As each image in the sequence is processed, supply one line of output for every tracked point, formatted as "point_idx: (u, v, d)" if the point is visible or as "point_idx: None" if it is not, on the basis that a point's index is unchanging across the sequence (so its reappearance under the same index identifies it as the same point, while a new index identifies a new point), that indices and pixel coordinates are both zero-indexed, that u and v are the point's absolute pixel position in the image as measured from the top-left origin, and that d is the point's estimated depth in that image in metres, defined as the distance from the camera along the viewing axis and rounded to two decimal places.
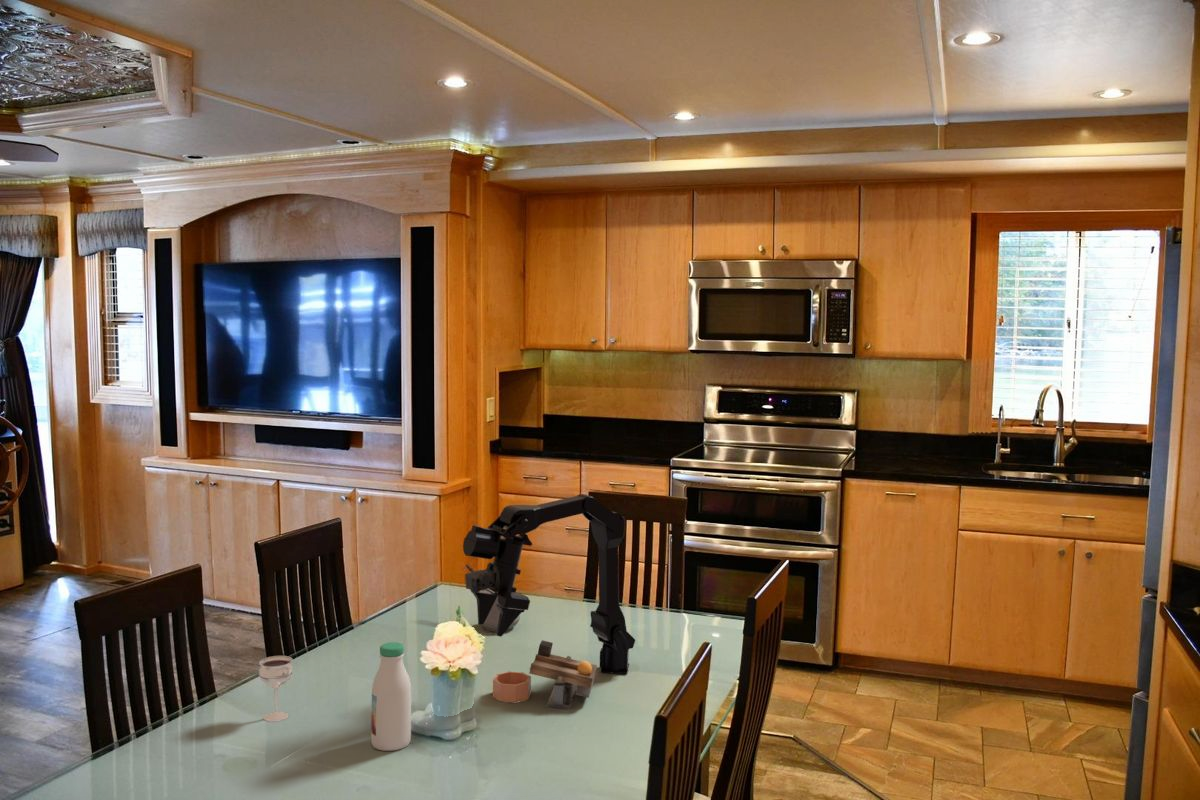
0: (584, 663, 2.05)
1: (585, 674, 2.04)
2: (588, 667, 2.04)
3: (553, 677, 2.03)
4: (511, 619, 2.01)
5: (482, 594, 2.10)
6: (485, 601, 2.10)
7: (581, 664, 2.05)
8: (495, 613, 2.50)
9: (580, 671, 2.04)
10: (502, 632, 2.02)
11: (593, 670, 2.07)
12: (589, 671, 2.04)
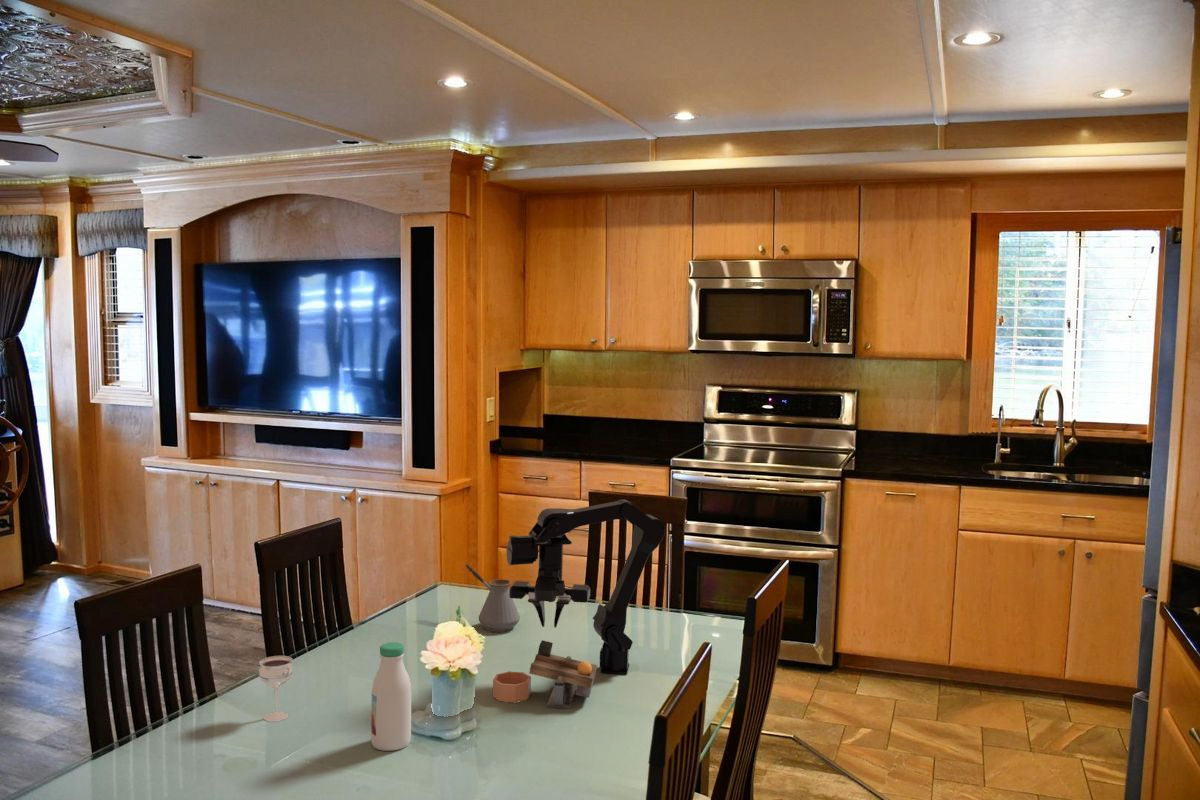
0: (584, 663, 2.05)
1: (585, 674, 2.04)
2: (588, 667, 2.04)
3: (553, 677, 2.03)
4: None
5: None
6: (542, 604, 2.19)
7: (581, 664, 2.05)
8: (495, 613, 2.50)
9: (580, 671, 2.04)
10: (557, 622, 2.19)
11: (593, 670, 2.07)
12: (589, 671, 2.04)
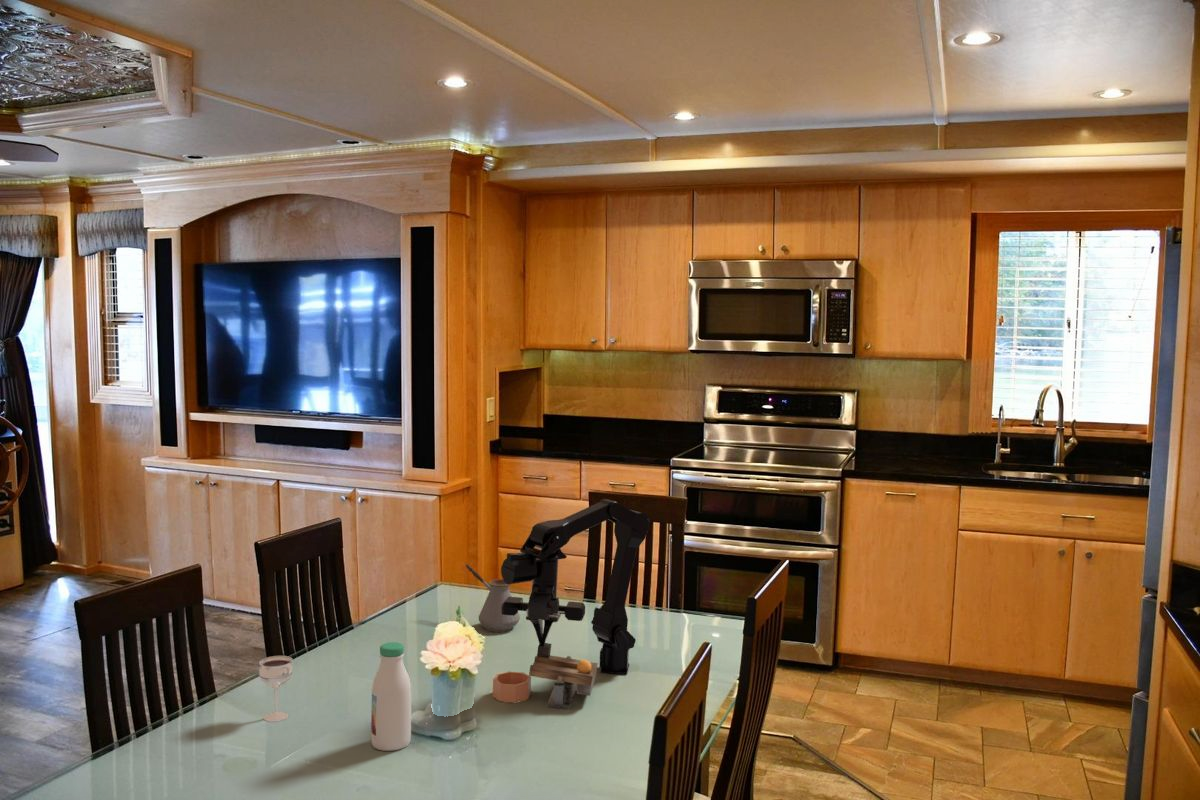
0: (583, 661, 2.05)
1: (585, 672, 2.04)
2: (587, 665, 2.04)
3: (553, 677, 2.03)
4: (550, 626, 2.13)
5: None
6: (540, 622, 2.12)
7: (580, 663, 2.05)
8: (495, 613, 2.50)
9: (580, 670, 2.04)
10: (545, 640, 2.12)
11: (593, 668, 2.07)
12: (589, 669, 2.04)
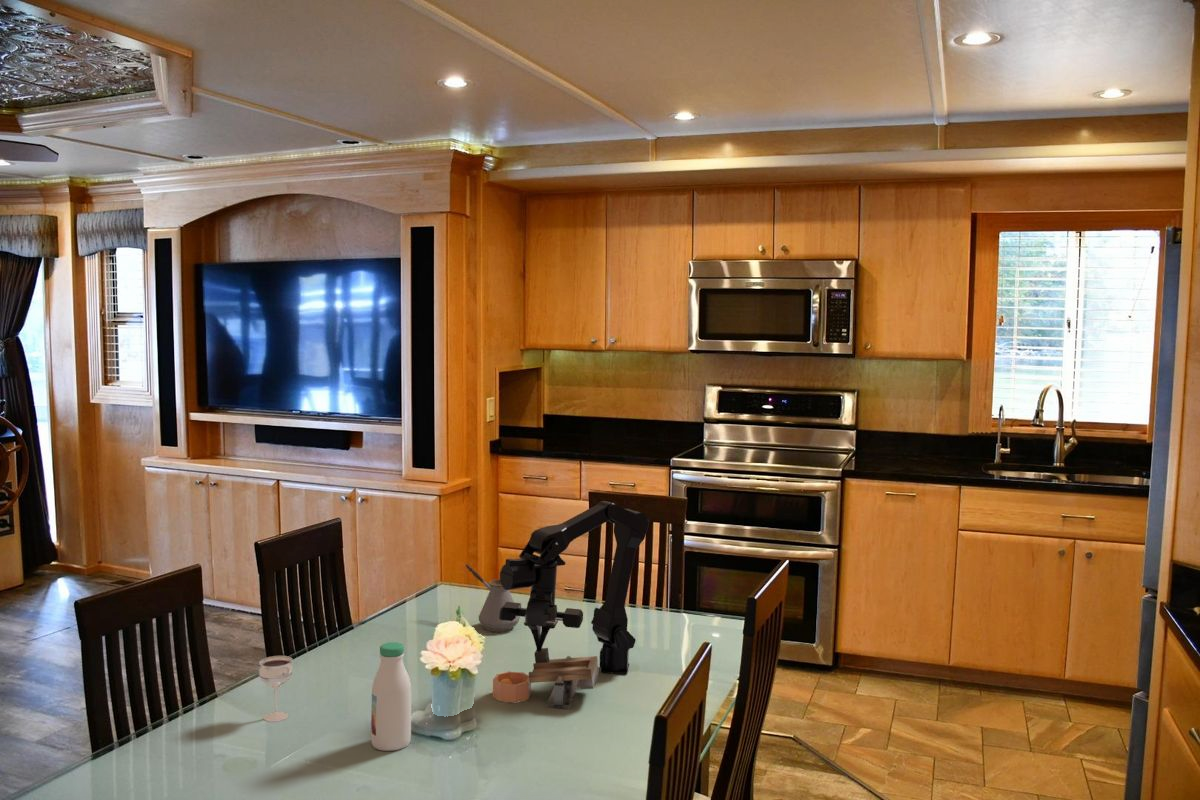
0: (508, 682, 2.07)
1: None
2: None
3: (553, 679, 2.03)
4: (547, 632, 2.13)
5: None
6: (538, 628, 2.12)
7: (505, 681, 2.07)
8: (495, 613, 2.50)
9: None
10: None
11: (591, 661, 2.07)
12: None
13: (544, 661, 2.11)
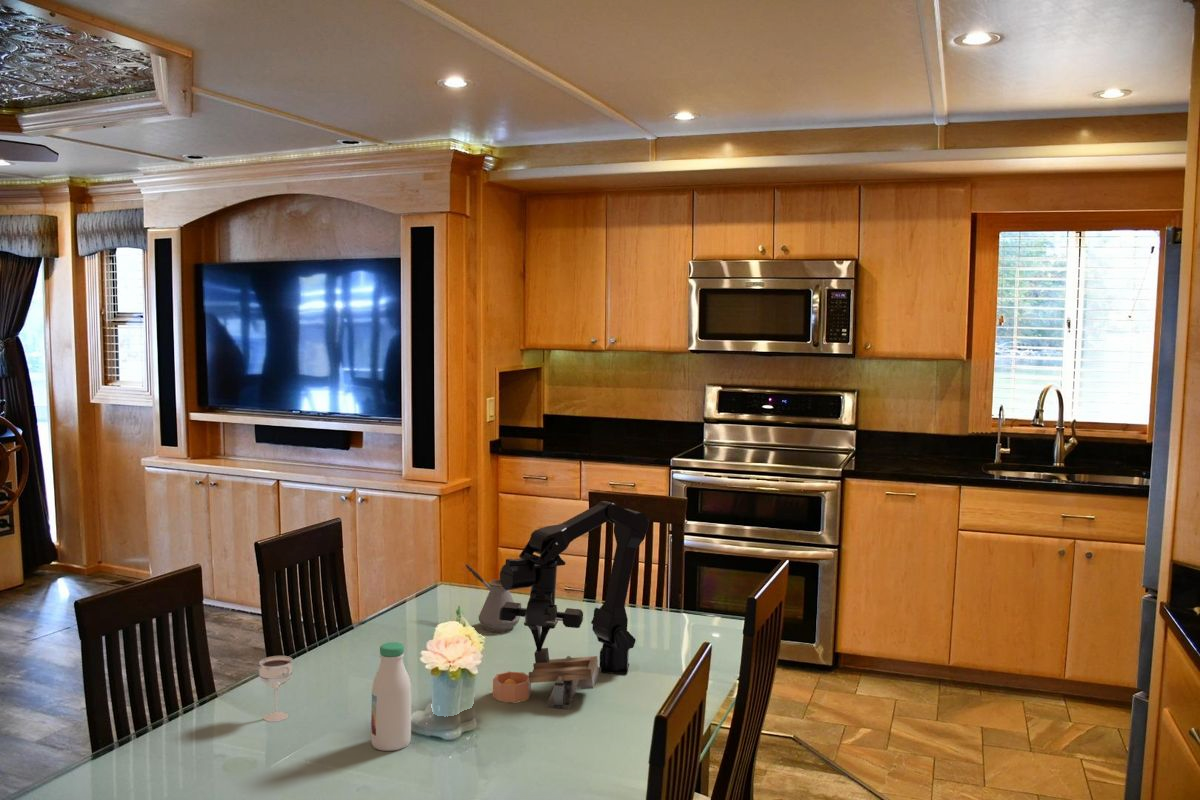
0: None
1: None
2: None
3: (553, 679, 2.03)
4: (547, 632, 2.13)
5: None
6: (538, 628, 2.12)
7: (513, 683, 2.07)
8: (495, 613, 2.50)
9: None
10: None
11: (591, 661, 2.07)
12: None
13: (544, 661, 2.11)
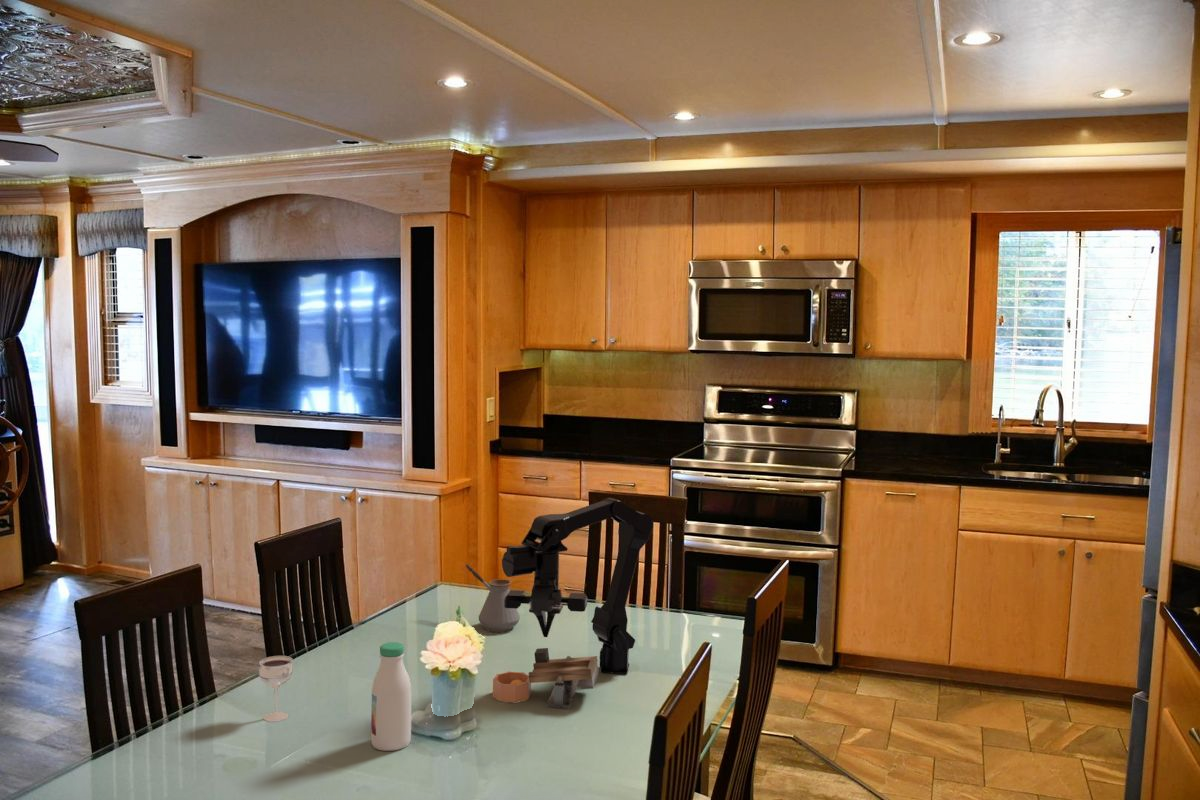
0: None
1: None
2: None
3: (553, 679, 2.03)
4: (553, 617, 2.15)
5: None
6: (543, 614, 2.14)
7: None
8: (495, 613, 2.50)
9: None
10: (548, 632, 2.14)
11: (591, 661, 2.07)
12: None
13: (544, 661, 2.11)
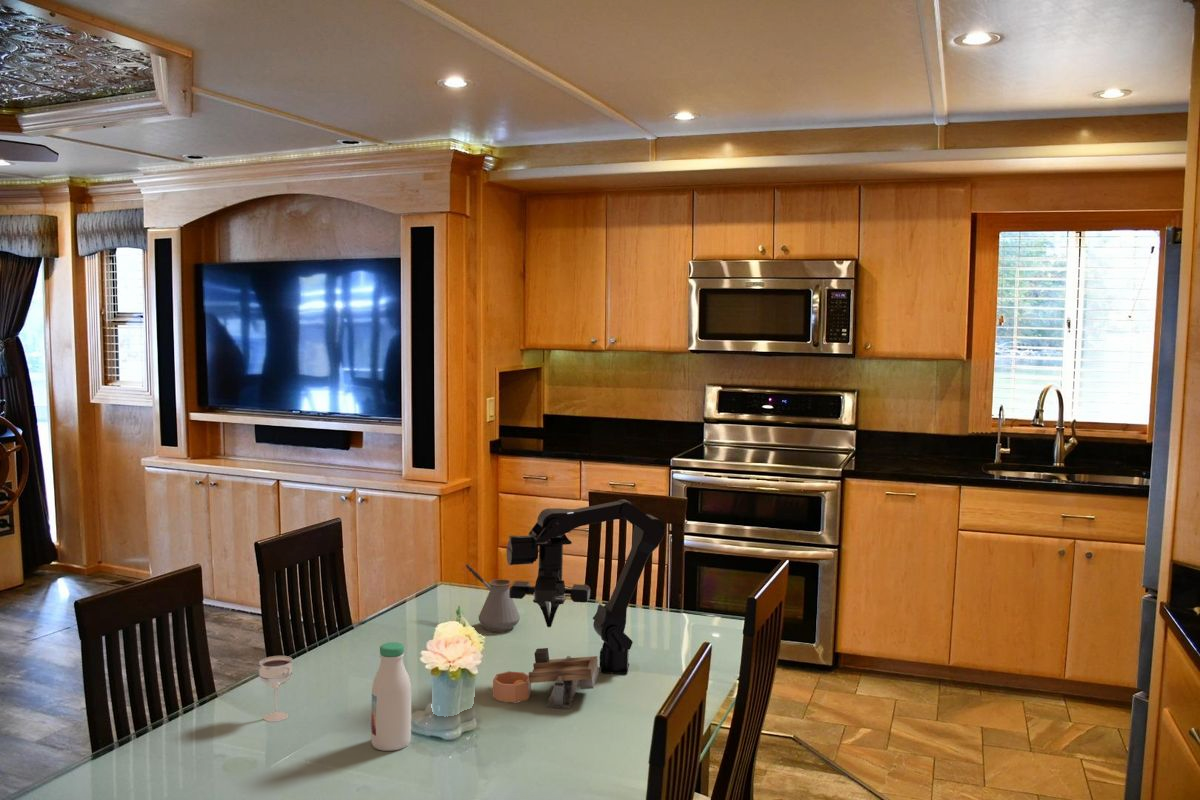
0: None
1: None
2: None
3: (553, 679, 2.03)
4: (557, 608, 2.20)
5: None
6: (547, 605, 2.19)
7: None
8: (495, 613, 2.50)
9: None
10: (552, 622, 2.20)
11: (591, 661, 2.07)
12: None
13: (544, 661, 2.11)
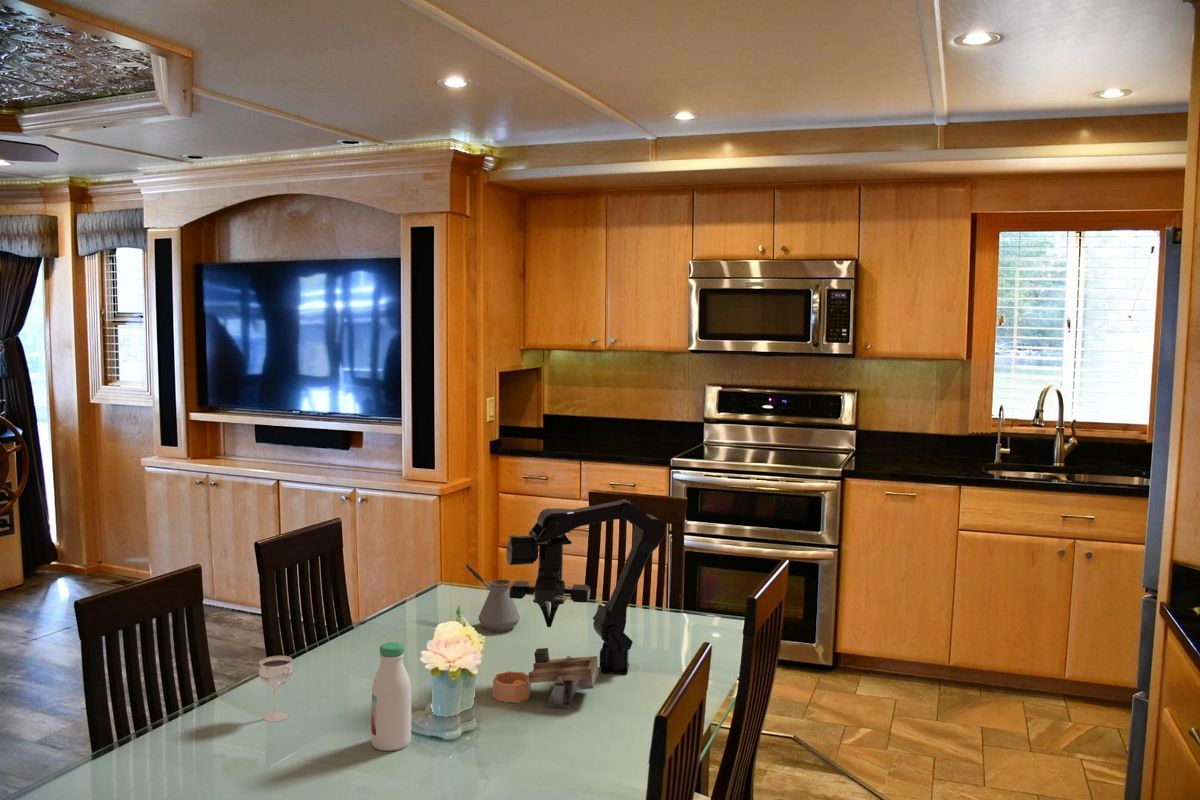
0: None
1: None
2: None
3: (553, 679, 2.03)
4: (557, 608, 2.20)
5: None
6: (547, 605, 2.19)
7: None
8: (495, 613, 2.50)
9: None
10: (552, 622, 2.20)
11: (591, 661, 2.07)
12: None
13: (544, 661, 2.11)
